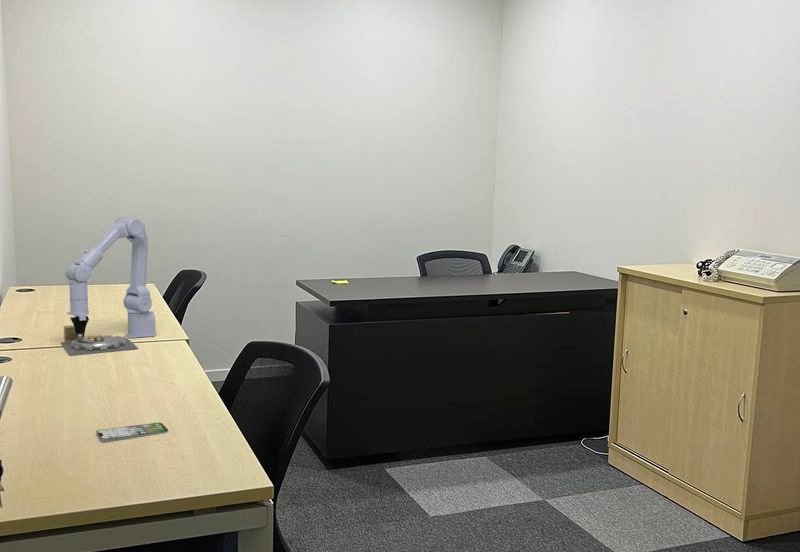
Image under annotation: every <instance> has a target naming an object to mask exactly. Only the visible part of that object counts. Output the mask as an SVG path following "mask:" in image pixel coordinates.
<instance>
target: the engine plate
mask: <svg viewBox="0 0 800 552" xmlns="http://www.w3.org/2000/svg"><path fill="white" fill-rule="evenodd" d="M121 337H122V338H126V344H125V345H119V346H120V347H117V348H107V349H104V350H100V349H94V350H86V349H80V350H79V349H75V347H71V342H72V341H68V342H66V341H61V342H60V345H61V346H62V347H63V349H64V350H65V352H66V353H67V355H68V356H70V357H73V356H82V355H84V356H85V355H93V354H103V353H113V352H124V351H133V350H134V351H136V350H139V347H138V346H137V345H136V344H134V342H132V341H131V340H130V338H129V337H126V336H121Z"/></svg>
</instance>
